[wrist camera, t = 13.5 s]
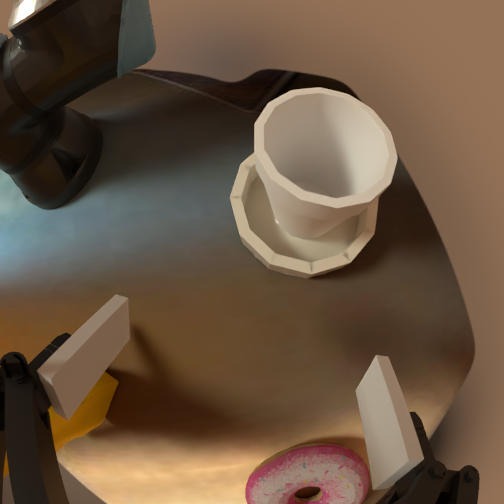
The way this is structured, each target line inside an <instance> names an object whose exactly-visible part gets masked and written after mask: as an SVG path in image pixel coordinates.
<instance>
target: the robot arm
mask: <svg viewBox="0 0 504 504" xmlns="http://www.w3.org/2000/svg"><path fill="white" fill-rule="evenodd" d="M11 1H12V3H13V11H12V14H11V17H10V20H9V24H8V28H9V30H10V31H11V33H12V34H13V35H14V36H13V37H11V38H10V39H8V36H7V35H4V34H2V33H0V169H1V170H3V171H4V172H6V173H7V174H9V175H10V176H11V178H12V179H13V181H14V182H15V184H16V185H17V186H18V187H19V188H20V189H21V190H22V193H23V195H24V196H25V198H26V199H27V200H28V201H29V202H30V203H32V204H34V205H36V206H37V207H39V208H42V209H54V208H57V207H59V206H61V205H63V204H65V203H66V202H68V201H69V200H70V199H71V198H73V197H74V196H75V195H76V194H77V193H78V192H79V191H80V190H81V188H82V187H83V186H84V185H85V183H86V182H87V181H88V179H89V178H90V176H91V174H92V173H93V171H94V169H95V167H96V165H97V163H98V160H99V157H100V154H101V149H102V134H101V131H100V129H99V127H98V126H97V125H96V124H95V123H94V121H93V120H92V119H91V118H90V117H88V116H87V115H84V114H81V113H79V112H77V111H75V110H73V109H71V108H69V107H67V106H65V105H66V104H68V103H70V102H71V101H73V100H75V99H76V98H78V97H80V96H81V95H83V94H85V93H87V92H89V91H91V90H92V89H94V88H96V87H98V86H100V85H102V84H104V83H106V82H108V81H110V80H112V79H114V78H116V77H117V78H120V77H122V75H123V74H125V73H127V72H129V71H131V70H133V69H135V68H137V67H139V66H141V65H143V64H145V63H147V62H148V61H149V60H151V58H152V57H153V55H154V54H155V51H156V42H155V36H154V31H153V25H152V19H151V13H150V7H149V1H148V0H11ZM129 339H130V330H129V305H128V298H126V297H123V296H120V295H117V294H116V295H115V296H114V297H113V298H111V299H110V300H109V301H108V302H107V303H106V304H105V305H104V306H103V307H102V308H101V309H99V310H98V311H97V312H96V313H95V314H94V315H93V316H92V317H91V318H90V319H89V320H88V321H87V322H86V323H84V324H83V325H82V326H81V327H80V328H79V329H78V330H77V331H76V332H75V333H74V334H73V335H70V334H68V333H64V334H62V335H60V336H58V337H56V338H55V339H54V340H53V341H52V342H51V344H49V345H48V346H47V347H46V348H45V349H44V350H43V351H42V352H41V353H40V354H39V355H37V356H36V357H35V358H34V359H33V360H32V361H31V362H30V363H29V364H27V361H26V358H25V357H24V356H23V354H21V353H19V352H10V353H7V354H5V355H4V356H3V357H2V358H1V360H0V366H1V367H0V504H2V489H3V474H4V464H5V456H6V451H7V461H8V469H9V476H10V481H11V487H12V493H13V498H14V502H15V504H69V501H68V498H67V495H66V492H65V489H64V485H63V481H62V478H61V474H60V470H59V465H58V461H57V456H56V452H55V446H54V441H53V435H52V429H51V422H50V414H49V411H48V409H49V408H50V406H51V405H52V407H53V409H54V411H55V413H57V414H58V415H60V416H61V417H63V418H65V419H66V420H69V419H70V418H71V416H72V415H73V413H74V412H75V411H76V409H77V408H78V407H79V405H80V404H81V402H82V401H83V400H84V398H85V397H86V396H87V394H88V393H89V392H90V390H91V389H92V388H93V386H94V385H95V384H96V382H97V381H98V380H99V378H100V377H101V376H102V374H103V373H104V372H105V370H106V369H107V368H108V366H109V365H110V364H111V363H112V361H113V360H114V359H115V357H116V356H117V355H118V353H119V352H120V351H121V350H122V348H123V347H124V346H125V345H126V343H127V342H128V341H129ZM355 391H356V395H357V400H358V405H359V410H360V415H361V420H362V425H363V431H364V436H365V442H366V448H367V454H368V460H369V467H370V473H371V480H372V488H373V490H380V489H388V488H389V487H390V486H392V485H393V484H394V483H395V486H396V489H394V490H393V491H392V492H390V493H389V494H388V495H386V496H385V497H384V498H383V499H385V498H387V497H388V499H387V500H386V502H385V503H384V504H477V501H478V490H479V473H478V471H477V469H476V468H475V467H473V466H471V465H467V466H465V467H463V468H462V469H461V470H460V471H453V470H447V469H446V467H445V465H444V464H442V463H441V462H439V461H435V459H434V456H433V453H432V450H431V447H430V444H429V441H428V438H427V436H426V432H425V429H424V426H423V423H422V421H421V419H420V417H419V416H418V415H417V414H416V412H409V410H408V407H407V405H406V402H405V399H404V396H403V393H402V391H401V388H400V385H399V383H398V380H397V378H396V375H395V373H394V370H393V367H392V365H391V362H390V360H389V358H388V356H380V355H376V356H375V358H374V360H373V361H372V363H371V365H370V367H369V368H368V370H367V372H366V374H365V375H364V377H363V379H362V381H361V382H360V384H359V386H358V387H357V389H356V390H355Z"/></svg>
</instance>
